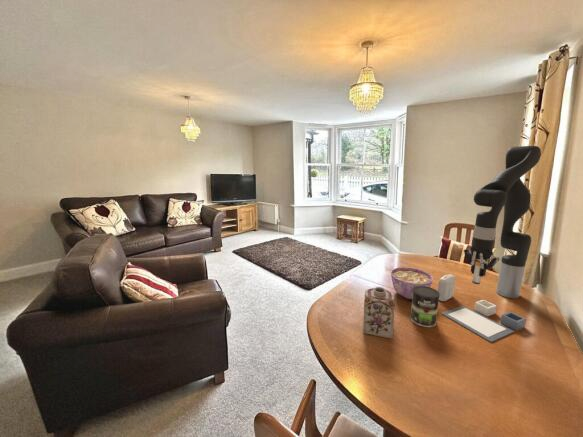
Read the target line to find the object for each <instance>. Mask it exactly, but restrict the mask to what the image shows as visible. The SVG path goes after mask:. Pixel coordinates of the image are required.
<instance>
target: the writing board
mask: <svg viewBox="0 0 583 437" xmlns="http://www.w3.org/2000/svg"><path fill="white" fill-rule="evenodd" d="M441 315H442V316H444V317H446V318H448V319H450V320H452V322H455V323H457V324H458V325H460V326H462V327H463V328H464V329H467V330H468V331H470V332H472V333H474V334H475V335H477V336H479V337H481V338H482V339H484V340H485V341H488V342H489V343H493V342H496V341H498V340H500V339H502V338H504V337H507V336H509V335H511V334H513V333H515V330H513V329H511V328H509V327H507V326H505V325H503V324H501V323H500V322H498V321H497V322H496V321H495V320H493V319H491V318H489V317H487V316H485V315H483V314H481V313H479V312H477V311H475V310H474V309H471V308H470V307H468V306H465V305H460V306H458V307H454V308H452V309H449V310H446V311H443V312H441Z"/></svg>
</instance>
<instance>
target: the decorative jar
mask: <svg viewBox="0 0 583 437" xmlns="http://www.w3.org/2000/svg"><path fill="white" fill-rule="evenodd" d="M363 299H364V300H363V301H364V302H363V321H362V322H363V325H362V326H363V327H362V329H363V331H362V333H363V335H364V334H366V335H369V336H370V335H371V336H376V337H381V338H386V339H393V337H394V336H393V335H394V325H395V324H394V323H395V307H396V304H395V302H396V301H395V294H394V293H393V292H391V291H390V290H388V289H386V288H384V287H381V286H377V287H376V286H375V287H373V288H368V289H365V292H364V298H363Z"/></svg>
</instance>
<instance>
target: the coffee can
mask: <svg viewBox="0 0 583 437" xmlns="http://www.w3.org/2000/svg"><path fill="white" fill-rule="evenodd" d="M439 296H440V294H439V292H438V289H435V288H433V287H431V286H430V287H426V286H416V287H414V288H413V297H412V299H411V300H412V301H411V309H410V321H412V322H413V323H414V324H416V325H417V326H421V327H423V328H433V327H435V326H436V325H437V317H438V311H439V310H438V308H439V302H440V300H439Z"/></svg>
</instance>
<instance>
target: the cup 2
mask: <svg viewBox="0 0 583 437" xmlns="http://www.w3.org/2000/svg"><path fill="white" fill-rule="evenodd" d="M526 322H527V319H526V317H523V316H520V315H519V314H516V313H514V312H511V311H508V312H505V313H503V314H501V317H500V322H499V324H501V325H503V326H505V327H507V328H509V329H511V330H513V331H514V332H517V331H520V330H522V329H525V327H526Z"/></svg>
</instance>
